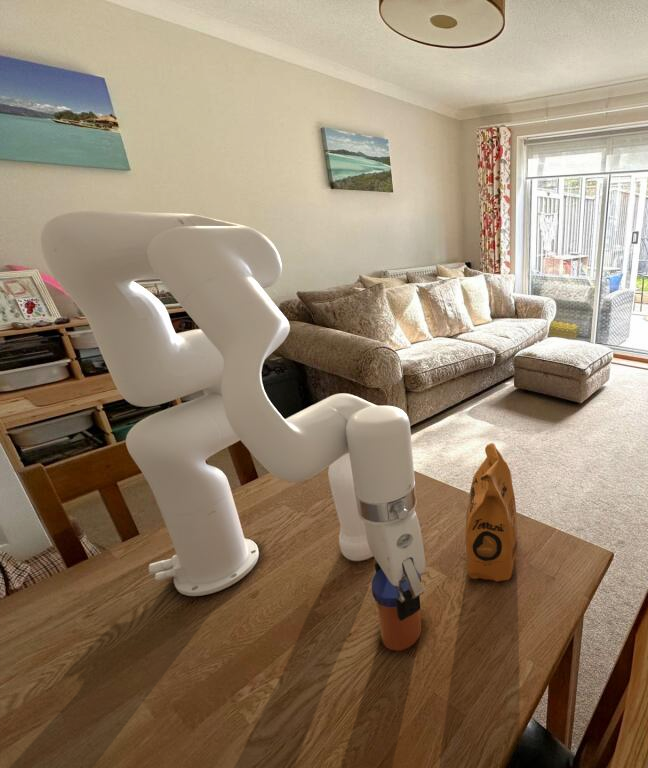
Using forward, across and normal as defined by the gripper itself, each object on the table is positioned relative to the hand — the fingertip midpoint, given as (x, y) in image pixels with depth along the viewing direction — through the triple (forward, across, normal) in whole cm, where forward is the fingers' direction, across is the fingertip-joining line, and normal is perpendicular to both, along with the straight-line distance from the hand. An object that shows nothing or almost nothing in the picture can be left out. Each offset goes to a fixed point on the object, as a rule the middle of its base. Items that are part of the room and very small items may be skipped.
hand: (398, 595), depth 60 cm
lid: (-3, 0, 0) cm, 3 cm away
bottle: (+8, +21, -2) cm, 23 cm away
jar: (+8, 0, 0) cm, 8 cm away
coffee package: (+8, +4, -20) cm, 22 cm away
